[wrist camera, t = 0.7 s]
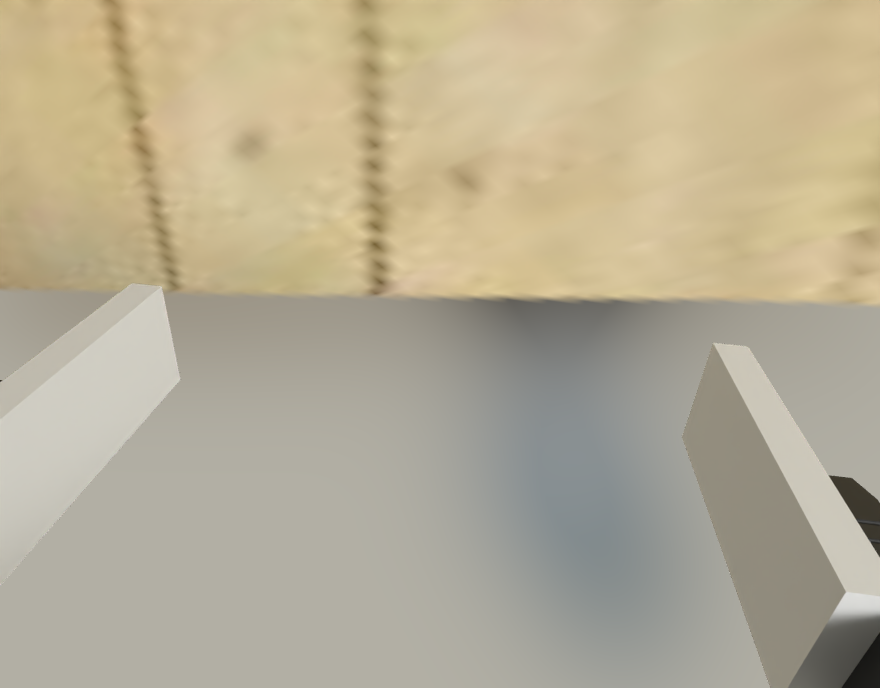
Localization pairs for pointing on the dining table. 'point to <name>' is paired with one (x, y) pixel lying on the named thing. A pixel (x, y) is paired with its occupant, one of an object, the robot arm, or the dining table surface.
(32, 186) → the dining table surface
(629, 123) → the dining table surface
